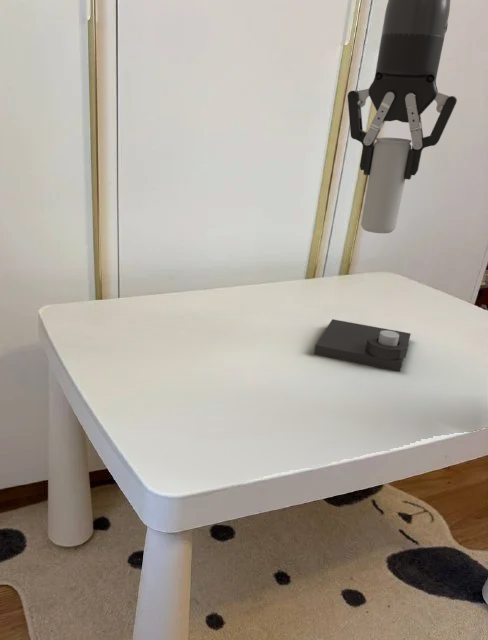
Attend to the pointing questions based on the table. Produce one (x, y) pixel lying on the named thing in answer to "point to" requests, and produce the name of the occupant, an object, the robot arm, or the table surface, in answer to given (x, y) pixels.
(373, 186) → the beverage can
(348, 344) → the scale
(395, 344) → the button
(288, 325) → the table surface
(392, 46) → the robot arm
